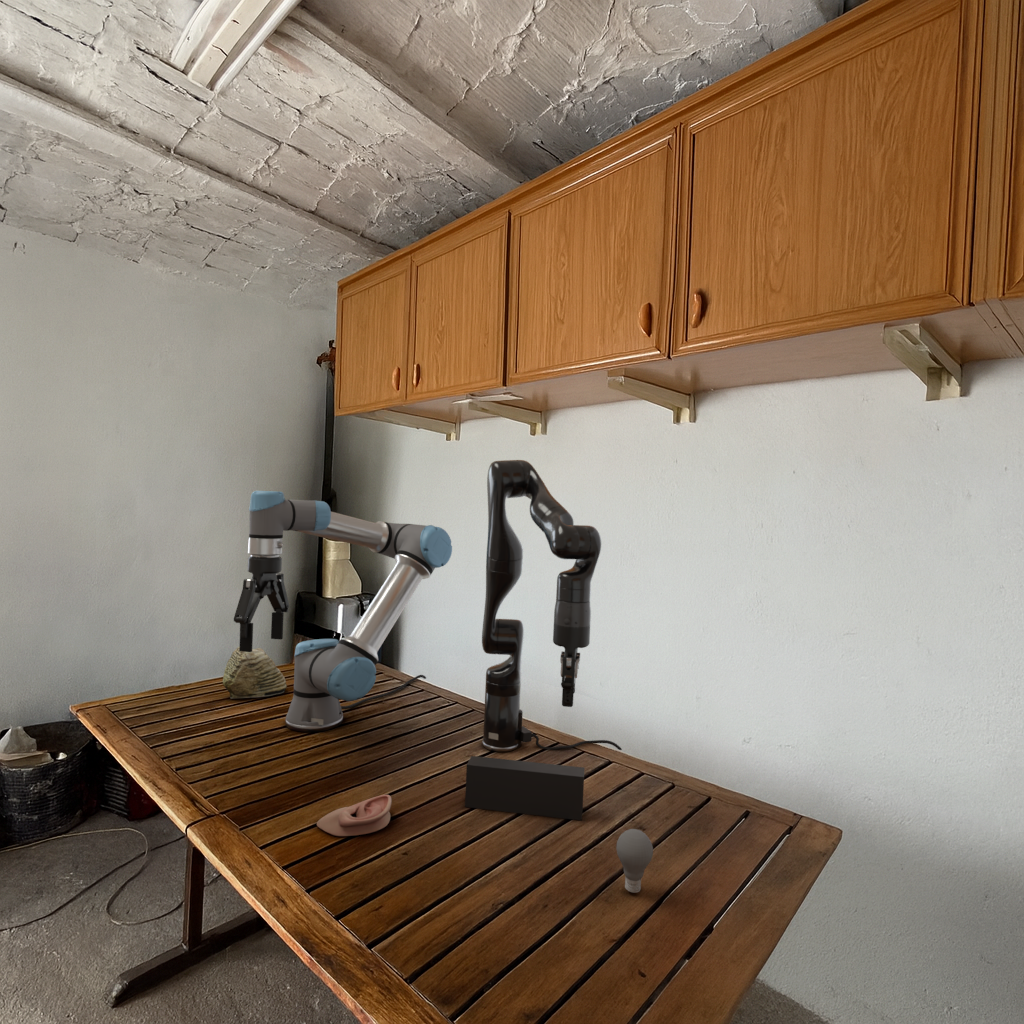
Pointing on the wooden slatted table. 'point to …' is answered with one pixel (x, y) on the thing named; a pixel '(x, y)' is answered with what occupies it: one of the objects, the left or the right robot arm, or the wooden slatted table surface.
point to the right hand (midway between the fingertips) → (568, 699)
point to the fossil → (252, 675)
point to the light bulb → (634, 857)
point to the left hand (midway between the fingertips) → (261, 645)
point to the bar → (525, 787)
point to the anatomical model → (358, 817)
